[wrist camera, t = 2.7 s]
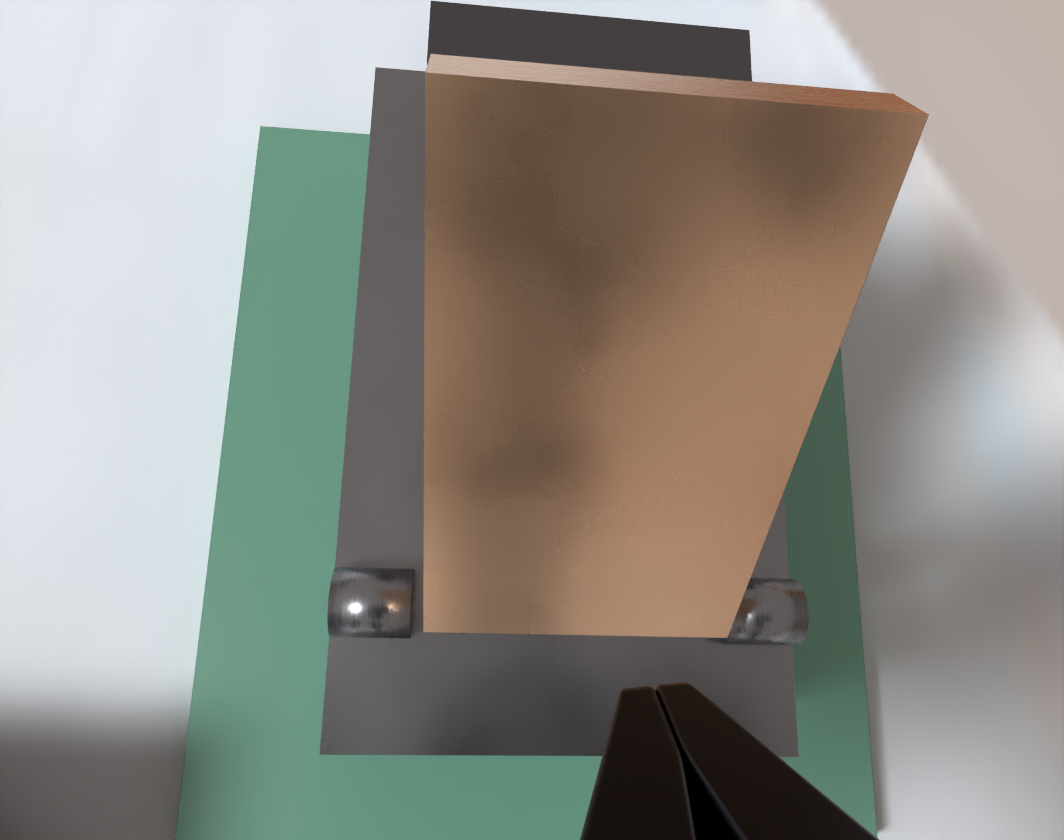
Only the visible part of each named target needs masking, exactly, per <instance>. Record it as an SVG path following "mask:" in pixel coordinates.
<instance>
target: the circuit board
mask: <svg viewBox="0 0 1064 840" xmlns="http://www.w3.org/2000/svg"><path fill="white" fill-rule="evenodd" d="M369 143H370V135H368V134H355V133H342V132H329V131H316V130H303V129H290V128H277V127H263V126H260V134H259V143H258V151H257V159H256V168H255V176H254V184H253V193H252V201H251V209H250V218H249V226H248V234H247V243H246V251H245V259H244V268H243V276H242V284H241V292H240V301H239V309H238V317H237V326H236V334H235V342H234V351H233V359H232V367H231V376H230V384H229V392H228V401H227V409H226V417H225V426H224V434H223V442H222V450H221V459H220V467H219V475H218V484H217V492H216V500H215V509H214V517H213V525H212V534H211V542H210V550H209V559H208V567H207V575H206V584H205V592H204V600H203V608H202V617H201V625H200V633H199V642H198V650H197V658H196V667H195V675H194V683H193V692H192V700H191V708H190V717H189V725H188V733H187V742H186V750H185V758H184V766H183V775H182V783H181V791H180V800H179V808H178V816H177V825H176V833H175V840H580V838H581V834H582V830H583V827H584V823H585V819H586V815H587V812H588V808H589V804H590V800H591V797H592V793H593V789H594V786H595V782H596V778H597V774H598V771H599V767H600V763H601V759H602V756H479V755H319V754H320V742H321V730H322V718H323V706H324V693H325V681H326V669H327V657H328V644H329V633H328V623H327V613H328V598H329V590H330V583H331V578H332V574H333V571H334V569H335V559H336V547H337V534H338V522H339V510H340V498H341V485H342V473H343V461H344V449H345V436H346V424H347V412H348V400H349V388H350V375H351V363H352V351H353V339H354V326H355V314H356V302H357V290H358V277H359V265H360V253H361V241H362V229H363V216H364V204H365V192H366V180H367V167H368V155H369ZM784 501H785V519H786V537H787V555H788V573H789V579H795V580H797V581H798V582H799V583H800V584H801V586H802V588H803V590H804V592H805V595H806V598H807V603H808V611H809V624H808V631H807V634H806V637H805V639H804V641H803V642H802V644H800V645H798V646H795V645H792V646H793V664H794V682H795V700H796V718H797V736H798V754H799V757H780V758H781V759H782V760H784V761H785V762H786V763H787V764H788V765H790V766H791V767H792V768H793V769H794V770H796V771H797V772H798V773H799V774H801V775H802V776H803V777H804V778H805V779H807V780H808V781H809V782H810V783H811V784H813V785H814V786H815V787H816V788H817V789H819V790H820V791H821V792H822V793H823V794H825V795H826V796H827V797H828V798H829V799H831V800H832V801H833V802H834V803H835V804H837V805H838V806H839V807H840V808H842V809H843V810H844V811H845V812H846V813H848V814H849V815H850V816H851V817H852V818H854V819H855V820H856V821H857V822H858V823H860V824H861V825H862V826H863V827H864V828H866V829H867V830H868V831H869V832H870V833H872V834H873V835H874V836H875V837H877V827H876V813H875V800H874V787H873V774H872V761H871V748H870V735H869V721H868V708H867V695H866V682H865V669H864V656H863V642H862V629H861V616H860V603H859V590H858V577H857V563H856V550H855V537H854V524H853V511H852V498H851V484H850V471H849V458H848V445H847V432H846V419H845V406H844V392H843V379H842V366H841V353H840V347H839V349H838V352H837V354H836V357H835V360H834V362H833V365H832V367H831V370H830V373H829V375H828V378H827V380H826V383H825V385H824V388H823V391H822V393H821V396H820V398H819V401H818V404H817V406H816V409H815V411H814V414H813V417H812V419H811V422H810V424H809V427H808V430H807V432H806V435H805V437H804V440H803V443H802V445H801V448H800V450H799V453H798V456H797V458H796V461H795V463H794V466H793V469H792V471H791V474H790V476H789V479H788V482H787V484H786V487H785V489H784Z"/></svg>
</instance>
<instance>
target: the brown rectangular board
mask: <svg viewBox="0 0 1064 840" xmlns="http://www.w3.org/2000/svg"><path fill="white" fill-rule="evenodd" d="M928 116H929V115H928V114H927V113H925V112H923V111H922V110H920V109H918V108H917V107H915V106H913V105H911V104H910V103H908V102H906V101H904V100H903V99H901V98H899V97H898V96H896V95H894V94H890V93H878V92H867V91H855V90H844V89H832V88H821V87H809V86H797V85H786V84H774V83H763V82H751V81H739V80H728V79H716V78H705V77H693V76H681V75H670V74H658V73H647V72H635V71H624V70H612V69H600V68H589V67H577V66H566V65H554V64H542V63H531V62H519V61H508V60H496V59H485V58H473V57H461V56H450V55H438V54H431V55H430V58H429V61H428V65H427V68H426V71H425V280H424V575H423V632H444V633H497V634H549V635H602V636H654V637H707V638H727V637H728V635H729V632H730V629H731V627H732V624H733V622H734V619H735V616H736V614H737V611H738V609H739V606H740V603H741V601H742V598H743V596H744V593H745V591H746V588H747V585H748V583H749V580H750V578H751V575H752V572H753V570H754V567H755V565H756V562H757V559H758V557H759V554H760V552H761V549H762V546H763V544H764V541H765V539H766V536H767V533H768V531H769V528H770V526H771V523H772V520H773V518H774V515H775V513H776V510H777V507H778V505H779V502H780V500H781V497H782V494H783V492H784V489H785V487H786V484H787V482H788V479H789V476H790V474H791V471H792V469H793V466H794V463H795V461H796V458H797V456H798V453H799V450H800V448H801V445H802V443H803V440H804V437H805V435H806V432H807V430H808V427H809V424H810V422H811V419H812V417H813V414H814V411H815V409H816V406H817V404H818V401H819V398H820V396H821V393H822V391H823V388H824V385H825V383H826V380H827V378H828V375H829V373H830V370H831V367H832V365H833V362H834V360H835V357H836V354H837V352H838V349H839V347H840V344H841V341H842V339H843V336H844V334H845V331H846V328H847V326H848V323H849V321H850V318H851V315H852V313H853V310H854V308H855V305H856V302H857V300H858V297H859V295H860V292H861V289H862V287H863V284H864V282H865V279H866V276H867V274H868V271H869V269H870V266H871V263H872V261H873V258H874V256H875V253H876V251H877V248H878V245H879V243H880V240H881V238H882V235H883V232H884V230H885V227H886V225H887V222H888V219H889V217H890V214H891V212H892V209H893V206H894V204H895V201H896V199H897V196H898V193H899V191H900V188H901V186H902V183H903V180H904V178H905V175H906V173H907V170H908V167H909V165H910V162H911V160H912V157H913V154H914V152H915V149H916V147H917V144H918V142H919V139H920V136H921V134H922V131H923V129H924V126H925V123H926V121H927V118H928Z"/></svg>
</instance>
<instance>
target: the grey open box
mask: <svg viewBox="0 0 1064 840" xmlns="http://www.w3.org/2000/svg"><path fill="white" fill-rule="evenodd" d="M431 54H438V55H450V56H461V57H473V58H485V59H496V60H508V61H519V62H531V63H542V64H554V65H566V66H577V67H589V68H600V69H612V70H624V71H635V72H647V73H658V74H670V75H681V76H693V77H705V78H716V79H728V80H739V81H751V82H752V73H751V54H750V35H749V30H740V29H730V28H719V27H708V26H697V25H686V24H676V23H665V22H654V21H643V20H632V19H621V18H611V17H600V16H589V15H578V14H567V13H557V12H546V11H535V10H524V9H513V8H502V7H492V6H481V5H470V4H459V3H448V2H438V1H431V8H430V24H429V39H428V55H427V65H428V61H429V58H430V55H431ZM424 280H425V72H424V71H412V70H400V69H388V68H376V70H375V82H374V94H373V106H372V118H371V131H370V143H369V155H368V167H367V180H366V192H365V204H364V216H363V229H362V241H361V253H360V265H359V277H358V290H357V302H356V314H355V326H354V339H353V351H352V363H351V375H350V388H349V400H348V412H347V424H346V436H345V449H344V461H343V473H342V485H341V498H340V510H339V522H338V534H337V547H336V559H335V569H334V571H333V574H332V578H331V583H330V590H329V598H328V613H327V623H328V633H329V644H328V657H327V669H326V681H325V693H324V706H323V718H322V730H321V742H320V754H319V755H479V756H603V752H604V748H605V744H606V741H607V737H608V733H609V730H610V726H611V722H612V718H613V715H614V711H615V707H616V703H617V700H618V696H619V693H620V691H621V690H622V689H624V688H632V687H641V686H651V687H653V688H654V689H656V687H657V686H658V685H660V684H668V683H678V682H688V683H690V684H692V685H693V686H694V687H696V688H697V689H698V690H699V691H700V692H702V693H703V694H704V695H705V696H706V697H708V698H709V699H710V700H711V701H712V702H714V703H715V704H716V705H717V706H718V707H720V708H721V709H722V710H723V711H725V712H726V713H727V714H728V715H729V716H731V717H732V718H733V719H734V720H735V721H737V722H738V723H739V724H740V725H741V726H743V727H744V728H745V729H746V730H747V731H749V732H750V733H751V734H752V735H753V736H755V737H756V738H757V739H758V740H759V741H761V742H762V743H763V744H764V745H766V746H767V747H768V748H769V749H770V750H772V751H773V752H774V753H775V754H776V755H778V756H779V757H799V754H798V736H797V718H796V700H795V682H794V664H793V646H792V645H795V646H798V645H800V644H802V642H803V641H804V639H805V637H806V634H807V631H808V624H809V611H808V603H807V598H806V595H805V592H804V590H803V588H802V586H801V584H800V583H799V582H798V581H797V580H795V579H789V573H788V555H787V537H786V519H785V501H784V492H783V494H782V497H781V500H780V502H779V505H778V507H777V510H776V513H775V515H774V518H773V520H772V523H771V526H770V528H769V531H768V533H767V536H766V539H765V541H764V544H763V546H762V549H761V552H760V554H759V557H758V559H757V562H756V565H755V567H754V570H753V572H752V575H751V578H750V580H749V583H748V585H747V588H746V591H745V593H744V596H743V598H742V601H741V603H740V606H739V609H738V611H737V614H736V616H735V619H734V622H733V624H732V627H731V629H730V632H729V635H728V637H727V638H707V637H654V636H602V635H549V634H497V633H444V632H423V575H424Z"/></svg>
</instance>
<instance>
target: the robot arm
mask: <svg viewBox="0 0 1064 840" xmlns="http://www.w3.org/2000/svg"><path fill="white" fill-rule="evenodd" d="M580 840H879V839H878V838H877V837H875V836H874V835H873V834H872V833H870V832H869V831H868V830H867V829H866V828H864V827H863V826H862V825H861V824H860V823H858V822H857V821H856V820H855V819H854V818H852V817H851V816H850V815H849V814H848V813H846V812H845V811H844V810H843V809H842V808H840V807H839V806H838V805H837V804H835V803H834V802H833V801H832V800H831V799H829V798H828V797H827V796H826V795H825V794H823V793H822V792H821V791H820V790H819V789H817V788H816V787H815V786H814V785H813V784H811V783H810V782H809V781H808V780H807V779H805V778H804V777H803V776H802V775H801V774H799V773H798V772H797V771H796V770H794V769H793V768H792V767H791V766H790V765H788V764H787V763H786V762H785V761H784V760H782V759H781V758H780V757H779V756H778V755H776V754H775V753H774V752H773V751H772V750H770V749H769V748H768V747H767V746H766V745H764V744H763V743H762V742H761V741H759V740H758V739H757V738H756V737H755V736H753V735H752V734H751V733H750V732H749V731H747V730H746V729H745V728H744V727H743V726H741V725H740V724H739V723H738V722H737V721H735V720H734V719H733V718H732V717H731V716H729V715H728V714H727V713H726V712H725V711H723V710H722V709H721V708H720V707H718V706H717V705H716V704H715V703H714V702H712V701H711V700H710V699H709V698H708V697H706V696H705V695H704V694H703V693H702V692H700V691H699V690H698V689H697V688H696V687H694V686H693V685H692V684H690V683H688V682H678V683H668V684H660V685H658V686H657V687H656V689H654V688H653V687H651V686H641V687H632V688H624V689H622V690H621V691H620V693H619V696H618V700H617V703H616V707H615V711H614V715H613V718H612V722H611V726H610V730H609V733H608V737H607V741H606V744H605V748H604V752H603V756H602V759H601V763H600V767H599V771H598V774H597V778H596V782H595V786H594V789H593V793H592V797H591V800H590V804H589V808H588V812H587V815H586V819H585V823H584V827H583V830H582V834H581V838H580Z"/></svg>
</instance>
